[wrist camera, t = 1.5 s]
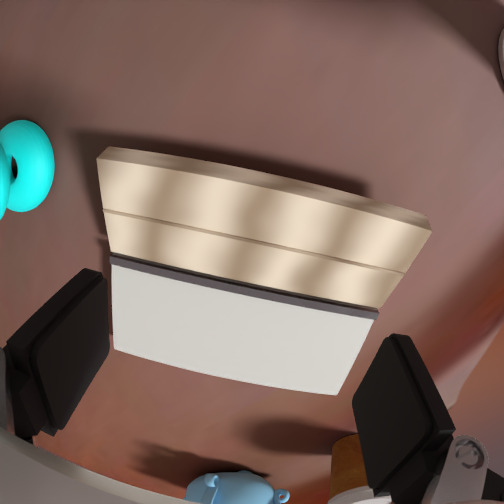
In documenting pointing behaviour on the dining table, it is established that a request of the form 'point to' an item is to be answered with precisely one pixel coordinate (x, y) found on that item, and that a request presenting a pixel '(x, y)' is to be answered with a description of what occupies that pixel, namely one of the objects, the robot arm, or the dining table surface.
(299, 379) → the board
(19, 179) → the donuts
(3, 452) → the robot arm
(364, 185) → the dining table surface
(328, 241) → the plank
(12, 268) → the dining table surface
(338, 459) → the glass of beer
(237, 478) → the decorative pot
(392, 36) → the dining table surface
